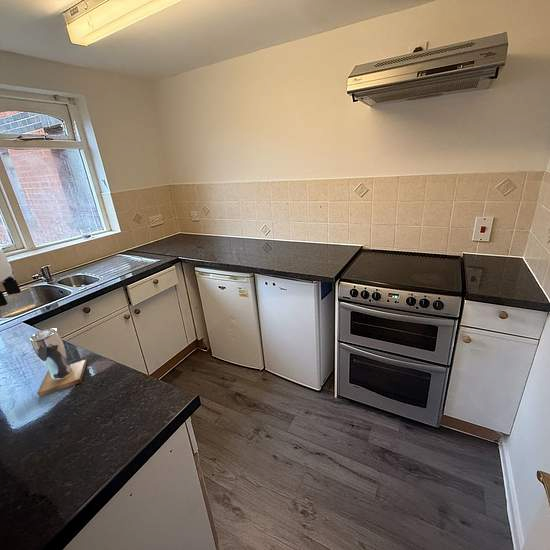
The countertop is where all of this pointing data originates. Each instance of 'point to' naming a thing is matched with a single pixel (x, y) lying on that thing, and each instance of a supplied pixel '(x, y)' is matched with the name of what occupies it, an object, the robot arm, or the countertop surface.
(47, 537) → the countertop surface
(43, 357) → the beer glass
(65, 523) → the countertop surface
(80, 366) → the board
